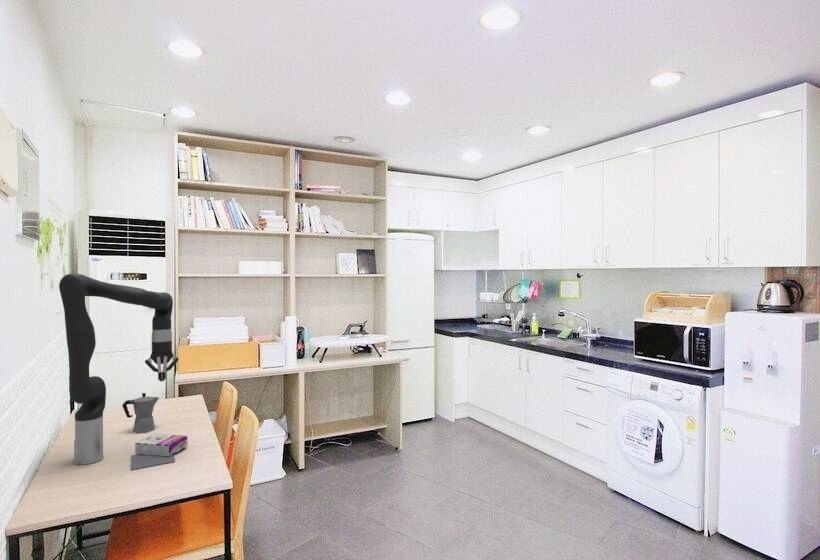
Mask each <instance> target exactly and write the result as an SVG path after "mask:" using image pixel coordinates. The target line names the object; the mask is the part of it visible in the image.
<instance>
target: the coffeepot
mask: <svg viewBox="0 0 820 560" xmlns="http://www.w3.org/2000/svg"><path fill="white" fill-rule="evenodd" d="M146 395H147V394H146V392H142V393H141V397H138V398H134V399H129V400H125V401H124V402H123V403H122V408H123V409H122V410H124V414H125V416H126V417H127V418H132V417H133V415H132V414H131V415H130V411H129V409H128V406H127V405H133V411H134V415H135V419H134V424H133V428H132V429H133V430H132V433H134V434H146V433H149V432H152V431H154V430H155V429H156V425H155V420H154V415H153V412H154V407H155V405H156V403H157V402H158V400H160V397H157V396H146Z"/></svg>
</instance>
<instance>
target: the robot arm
mask: <svg viewBox="0 0 820 560" xmlns="http://www.w3.org/2000/svg"><path fill="white" fill-rule="evenodd" d="M58 288H59V293H60V298H61V301H62V305H63V313H64V324H65V336H66V337H65V338H66V345H67V352H68V364H69V365H68V366H69V380H68V381H69V383H68V385H69V387H68V390H69V396H70V398H71V400H72V401H73V403H76V404H79V405H80V407H79V408H78V410H76V411H75V413H74V440H73V449H74V451H73V453H74V455H73V463H74V466H77V465H81V466H83V465H90V464H94V463H97V462H99V461H101V460H103V459H104V410H105V408H106V400H107V399H106V398H107V397H106V396H107V386H106V383H105V381H104V379H103V378H102V377H100V376H98V375H97V376H96V375H93V376H90V364H91V360H92V358H93V355H94V352H95V349H96V346H97V345H96V344H97V341H96V340H97V339H96V332H95V326H94V325H93V322H92V319H91V317H90V316H89V313H88V310H87V307H86V297H95V298H96V297H98V298H103V299H108V300H112V301H116V302H120V303H123V304H129V305H134V306H142V307H144V308H148V309H149V308H150V309H153V310H154V315H153V317H152V320H151V323H152V324H151V329H152V332H151V354H150V356H149V358H147V359H145V361H144V363H145V364H146V365H147V366H148V367H149V368H150V369H151V370H152V372H153V373H155V372H156V373H157V380H158V381H159V382H165V380H166V379H167V378H166V377H167V372H169V371H171V370H172V369H173V367H174V366H175V365H176V364H177V363H178V362H179V357H177V356H175V355H174V353H173V332H172V313H173V306H174V301H173V297H172V296H171V294H170V293H168V292H164V291H163V292H158V291H153V290H152V291H151V290H147V289H145V288H140V287H135V286H129V285H124V284H122V285H121V284H115V283H109V282H105V281H101V280H98V279H95V278H92V277H89V276H87V275H85V274H82V273H81V274H79V273H69V274H65V275H63V276H62V277H61V278H60V281H59V285H58ZM170 361H171V363H170V364H169V365H168V366H167V364H168V363H169V362H170ZM153 362H154V363H155V365H157V367H155V366H154V365H153Z"/></svg>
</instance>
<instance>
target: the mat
mask: <svg viewBox="0 0 820 560" xmlns="http://www.w3.org/2000/svg"><path fill="white" fill-rule="evenodd" d="M130 460H131V461H130V471H135V470H140V469H146V468H151V467H156V466H161V465H168V464H171V463H176V459H175V454H173V455H171V456H169V457H168V456H156V455H143V454H131V457H130Z"/></svg>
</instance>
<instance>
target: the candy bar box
mask: <svg viewBox="0 0 820 560" xmlns="http://www.w3.org/2000/svg"><path fill="white" fill-rule="evenodd" d="M134 446H135V447H134V448H135V449H134V451H135V454H134V455H136V454H143V455H156V456H168V457H169V456H171V455H173V454H174V455H175V454H177V453H178V452H180V451H182V450H183V449H186V448H187V447H188V435H175V434H162V433H153V434H151V435H148V436H147V437H144V438H143V439H141V440H139V441H137V442H135V445H134Z"/></svg>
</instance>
